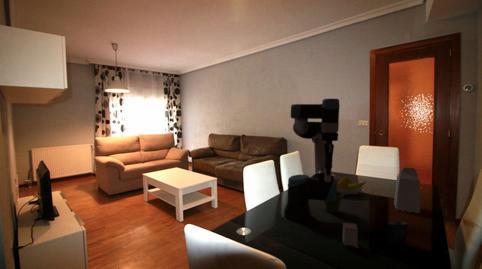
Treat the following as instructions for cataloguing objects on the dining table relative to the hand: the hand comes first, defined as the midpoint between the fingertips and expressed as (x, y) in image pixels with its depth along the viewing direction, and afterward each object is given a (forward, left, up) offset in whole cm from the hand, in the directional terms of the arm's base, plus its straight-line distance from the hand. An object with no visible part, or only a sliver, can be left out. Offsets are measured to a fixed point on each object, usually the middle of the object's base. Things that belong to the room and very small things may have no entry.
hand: (327, 181), depth 112 cm
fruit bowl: (-70, +18, -27) cm, 77 cm away
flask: (-2, +31, -27) cm, 41 cm away
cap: (+7, +10, -25) cm, 28 cm away
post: (+6, +10, -26) cm, 29 cm away
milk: (-48, +51, -27) cm, 75 cm away
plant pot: (-31, +6, -26) cm, 41 cm away
